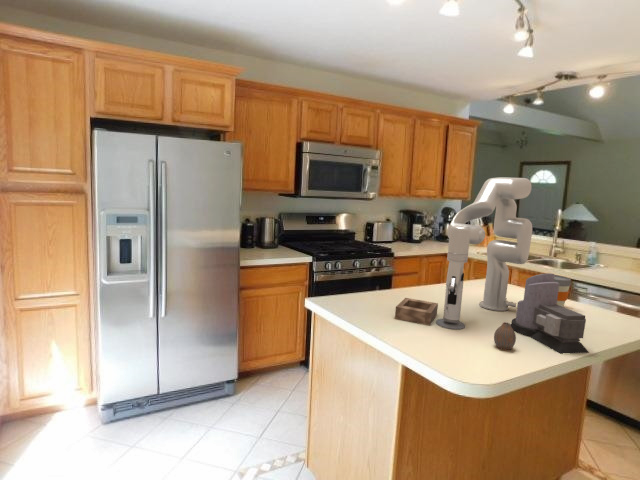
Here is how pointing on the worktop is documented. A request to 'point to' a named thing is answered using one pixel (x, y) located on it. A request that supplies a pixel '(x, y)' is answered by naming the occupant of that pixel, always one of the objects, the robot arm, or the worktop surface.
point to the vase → (505, 336)
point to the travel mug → (453, 310)
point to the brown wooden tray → (416, 311)
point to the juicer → (548, 317)
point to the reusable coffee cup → (562, 289)
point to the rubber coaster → (450, 324)
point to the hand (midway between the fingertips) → (452, 301)
